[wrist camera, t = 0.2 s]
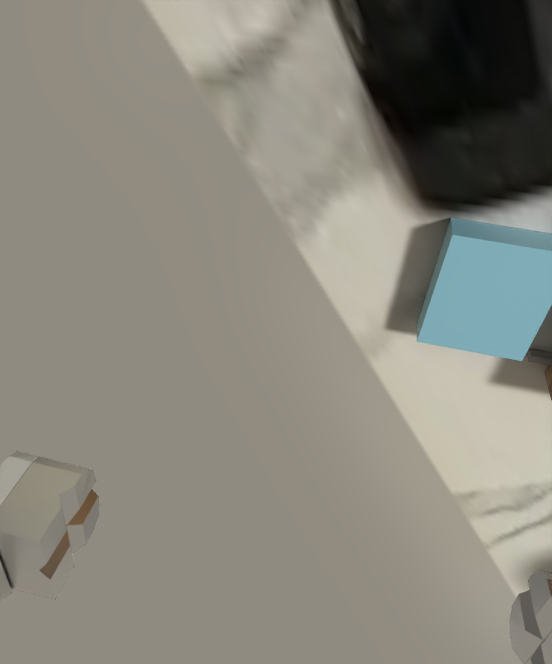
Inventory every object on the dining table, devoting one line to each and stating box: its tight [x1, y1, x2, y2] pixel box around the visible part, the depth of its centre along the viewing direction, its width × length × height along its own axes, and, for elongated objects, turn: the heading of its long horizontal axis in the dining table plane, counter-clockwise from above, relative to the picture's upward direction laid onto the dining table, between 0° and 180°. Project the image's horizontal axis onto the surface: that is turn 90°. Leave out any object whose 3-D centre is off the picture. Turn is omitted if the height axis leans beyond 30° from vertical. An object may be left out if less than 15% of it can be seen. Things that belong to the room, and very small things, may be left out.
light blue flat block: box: [417, 218, 552, 361], centre depth 48 cm, size 12×10×3 cm
